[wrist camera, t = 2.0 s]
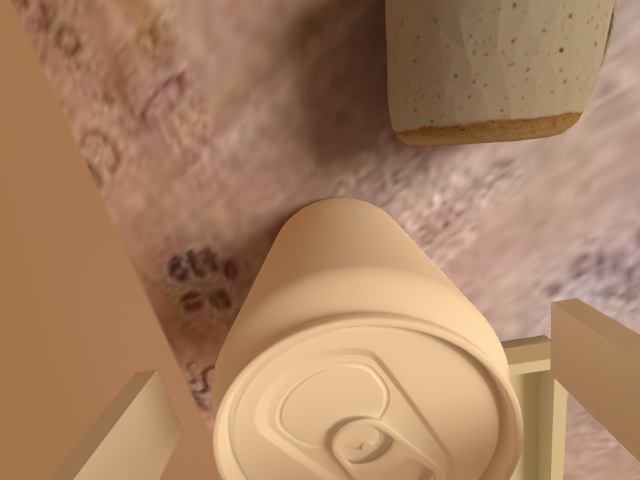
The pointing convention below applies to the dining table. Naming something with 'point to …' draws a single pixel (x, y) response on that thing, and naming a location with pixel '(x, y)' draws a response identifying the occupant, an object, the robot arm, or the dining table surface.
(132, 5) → the dining table surface
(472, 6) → the ceramic mug
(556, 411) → the holder tray
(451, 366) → the beverage can
